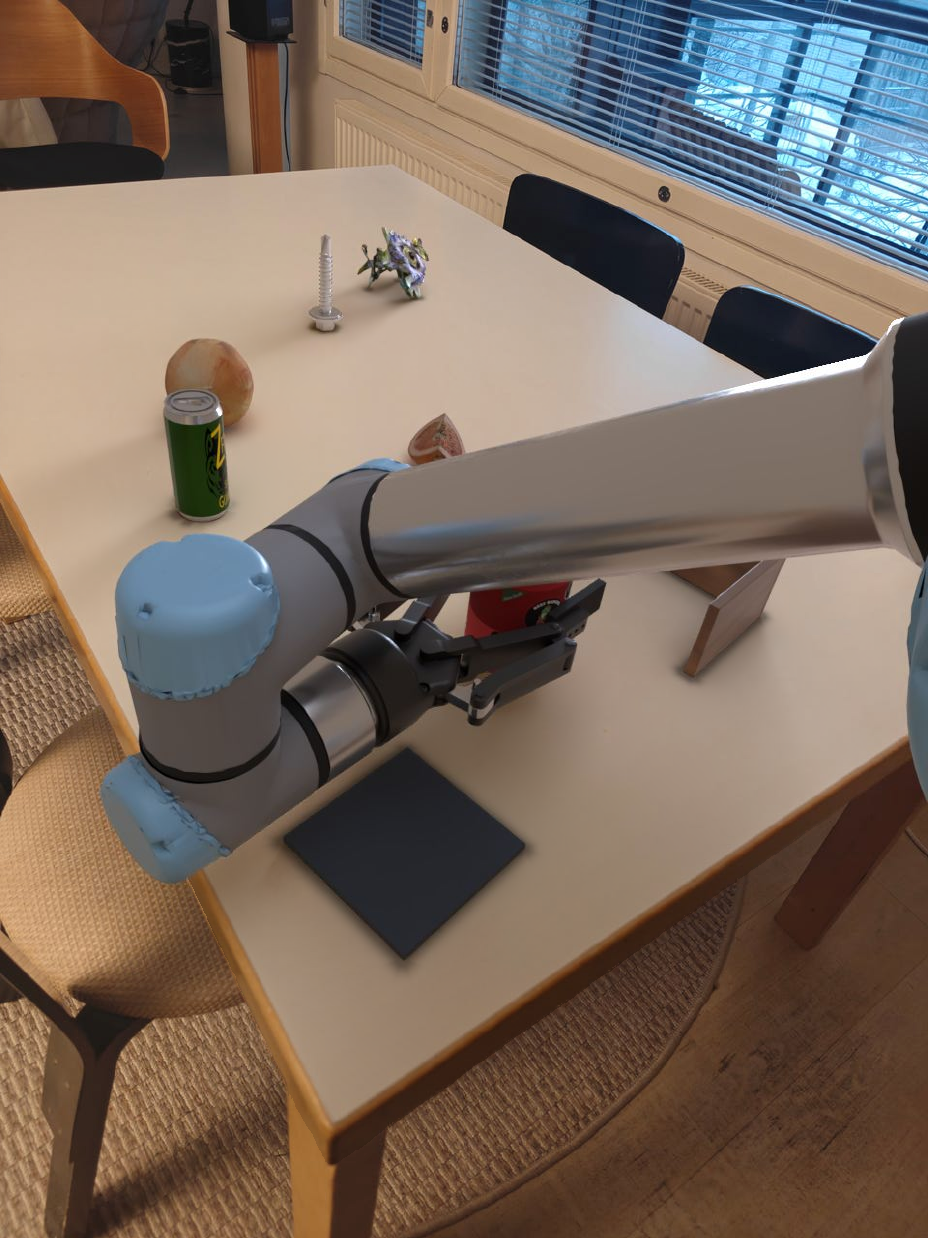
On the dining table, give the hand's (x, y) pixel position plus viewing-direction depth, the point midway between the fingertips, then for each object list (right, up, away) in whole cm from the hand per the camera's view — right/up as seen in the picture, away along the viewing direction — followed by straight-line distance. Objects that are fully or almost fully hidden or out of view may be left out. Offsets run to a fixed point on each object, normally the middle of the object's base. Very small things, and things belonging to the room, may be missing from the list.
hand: (556, 567), depth 70 cm
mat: (-12, -20, -10) cm, 25 cm away
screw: (-28, +38, +55) cm, 73 cm away
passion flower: (-19, +48, +68) cm, 86 cm away
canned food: (-4, -7, +1) cm, 8 cm away
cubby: (+8, -1, +16) cm, 18 cm away
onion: (-37, +19, +31) cm, 52 cm away
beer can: (-34, +7, +18) cm, 40 cm away
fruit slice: (-11, +13, +29) cm, 34 cm away
